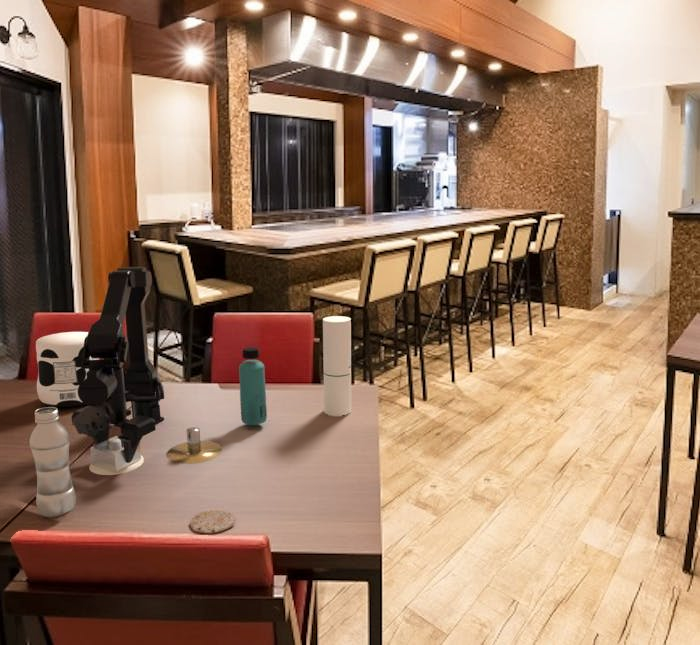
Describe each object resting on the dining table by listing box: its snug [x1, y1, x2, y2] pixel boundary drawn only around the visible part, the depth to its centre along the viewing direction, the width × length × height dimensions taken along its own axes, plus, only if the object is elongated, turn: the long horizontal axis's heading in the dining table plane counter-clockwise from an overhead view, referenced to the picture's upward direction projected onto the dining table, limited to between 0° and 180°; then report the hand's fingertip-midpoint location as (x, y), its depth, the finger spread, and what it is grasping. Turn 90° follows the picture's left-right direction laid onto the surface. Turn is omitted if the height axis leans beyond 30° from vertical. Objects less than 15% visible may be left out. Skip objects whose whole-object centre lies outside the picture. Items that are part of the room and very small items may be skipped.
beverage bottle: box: [238, 346, 268, 426], centre depth 156 cm, size 6×7×20 cm
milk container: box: [35, 331, 100, 408], centre depth 175 cm, size 17×17×18 cm
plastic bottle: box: [29, 406, 77, 518], centre depth 115 cm, size 6×7×20 cm
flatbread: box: [189, 509, 236, 534], centre depth 114 cm, size 8×8×1 cm
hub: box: [166, 426, 223, 465], centre depth 141 cm, size 12×12×6 cm
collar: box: [89, 435, 142, 472], centre depth 135 cm, size 7×7×4 cm
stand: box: [88, 439, 145, 476], centre depth 135 cm, size 11×11×6 cm
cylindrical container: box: [322, 315, 352, 417], centre depth 165 cm, size 7×7×25 cm
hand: (116, 458), depth 136 cm, fingers closed on collar, 7 cm apart
